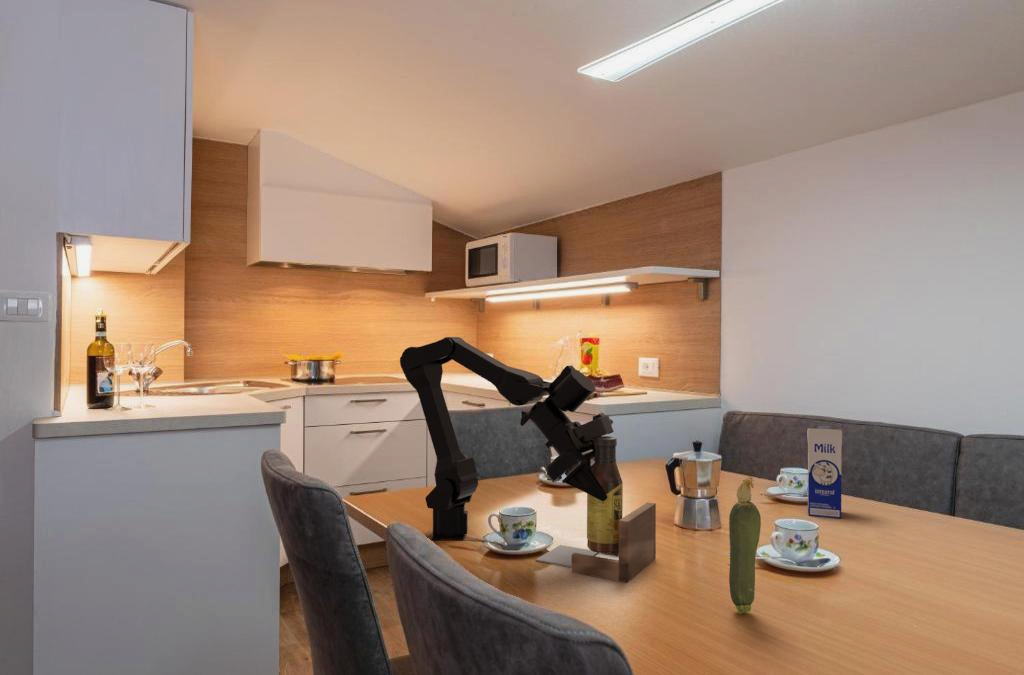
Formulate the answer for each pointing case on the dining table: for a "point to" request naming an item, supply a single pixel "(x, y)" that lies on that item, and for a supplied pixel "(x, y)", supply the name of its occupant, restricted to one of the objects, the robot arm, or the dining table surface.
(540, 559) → the mat
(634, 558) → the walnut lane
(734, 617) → the dining table surface
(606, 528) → the sauce bottle
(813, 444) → the milk carton
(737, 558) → the vegetable
